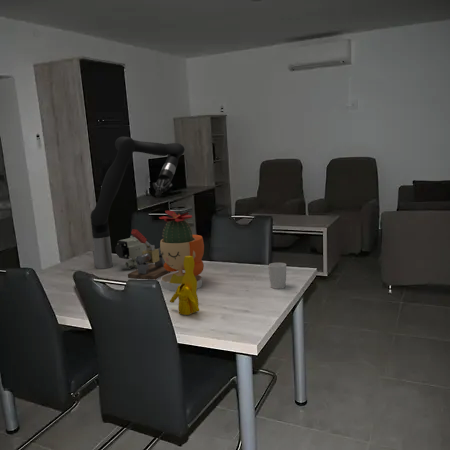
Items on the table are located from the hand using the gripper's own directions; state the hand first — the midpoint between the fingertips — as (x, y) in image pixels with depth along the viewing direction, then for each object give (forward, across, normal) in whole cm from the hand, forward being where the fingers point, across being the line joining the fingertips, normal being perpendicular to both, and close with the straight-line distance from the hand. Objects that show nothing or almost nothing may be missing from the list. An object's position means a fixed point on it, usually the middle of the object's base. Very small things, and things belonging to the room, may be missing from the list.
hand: (157, 196), depth 245 cm
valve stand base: (+40, +6, +13) cm, 43 cm away
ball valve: (+35, -11, +19) cm, 41 cm away
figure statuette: (+71, +53, -18) cm, 91 cm away
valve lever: (+30, +6, +3) cm, 31 cm away
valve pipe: (+39, +6, +12) cm, 41 cm away
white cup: (+43, +76, +11) cm, 88 cm away
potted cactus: (+48, +32, +6) cm, 58 cm away
